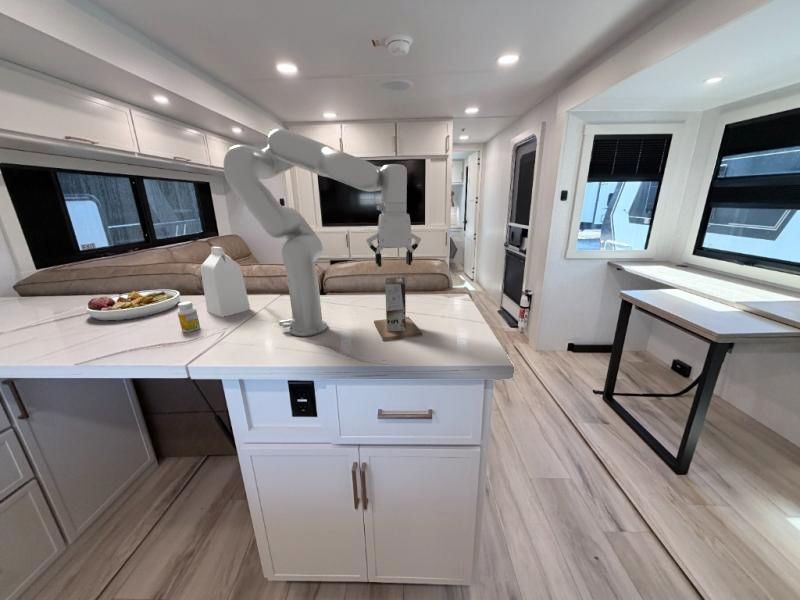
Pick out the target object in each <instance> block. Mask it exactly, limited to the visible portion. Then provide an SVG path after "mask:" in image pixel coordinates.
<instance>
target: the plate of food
mask: <svg viewBox="0 0 800 600" xmlns="http://www.w3.org/2000/svg"><path fill="white" fill-rule="evenodd" d="M180 300H181V294H180V292H179V291H178V290H174V289H151V290H141V291H131V292H129V293H122V294H118V295H113V296H110V297H109V296H100V297H93V298H92V299H91V298H90V300H89V301H88V303H87V306H86V312H87V314H88V315H89V316H90V317H92V318H94V319H95V320H100V321H107V320H116V321H125V320H124V319H127V320H132V318H134V319H138V318H137V317H140V318H144V317H143V316H145V317H148V315H149V316H152V314H153V315H156V313H157V314H160V313H162V311H163V312H165V310H166V311H168V310H170V309H172V308H174V307H175V306H176V305H178V304H179V303H180ZM159 312H160V313H159Z"/></svg>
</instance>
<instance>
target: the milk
mask: <svg viewBox="0 0 800 600" xmlns="http://www.w3.org/2000/svg"><path fill="white" fill-rule="evenodd" d="M210 253H211V254H209V256H208V257H207V258H206V259H205V260H204V261H203V262H202V264H201V266H200V274H201V280H202V286H203V291H204V299H205V304H206V305H205V306H206V312H207V313H209V314H211V313H212V314H211V315H214V314H215V316H217V317H219V316H220V317H219V318H225V317H224V316H226V317H229V316H232V315H235V313H236V314H240V313H242V312H246V311H249V310H251V307H250V302H249V296H248V293H247V289H246V288H247V287H246V284H245V281H244V277H243V272H242V267H241V265H240V264H239V263H238V262H237V261H235V260H233V259H232V257H231V256H229V255H227V254H225V250H224V249H223V247H220V246H211V247H210ZM231 314H232V315H231ZM228 315H229V316H228Z"/></svg>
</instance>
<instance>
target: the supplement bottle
mask: <svg viewBox="0 0 800 600" xmlns="http://www.w3.org/2000/svg"><path fill="white" fill-rule="evenodd" d="M193 306H194V305H193V302H192V301H190V300H189V301H183V302H178V303H177V307H178V310H177V316H178V321H179V324H180V328H181V331H182V332H184V333H190V332H195V331H197V330H199V329H200V328H201V325H200V320H199V315H198V312H197V308H196V307H193ZM194 330H195V331H194Z"/></svg>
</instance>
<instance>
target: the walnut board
mask: <svg viewBox="0 0 800 600" xmlns="http://www.w3.org/2000/svg"><path fill="white" fill-rule="evenodd" d="M374 324H375V325H374ZM373 325H374V327H375V328H376V330H377V333H378V334H379V336H380V338H381V339H382V341H383V342H387V341H395V340H400V339H401V340H402V339H408V338H409V337H410V338H416V337H423V331H422V329H420V328H419V327H418V326H417V324H415V322H414V321H413V320H412V318H410V316H406V322H405V331H387V322H386V319H385V318H384V319H377V320H373ZM410 338H409V339H410Z"/></svg>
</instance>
